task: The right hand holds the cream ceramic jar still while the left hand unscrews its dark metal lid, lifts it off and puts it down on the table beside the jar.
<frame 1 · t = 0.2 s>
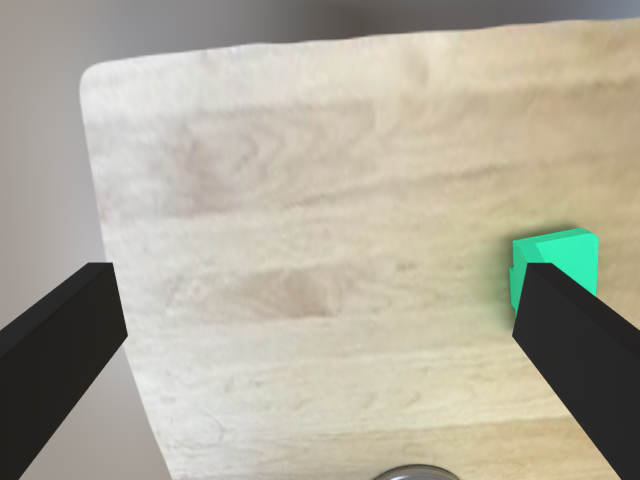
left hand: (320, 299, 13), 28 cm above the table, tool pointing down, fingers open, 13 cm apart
camera mount: (544, 279, 44), on the table
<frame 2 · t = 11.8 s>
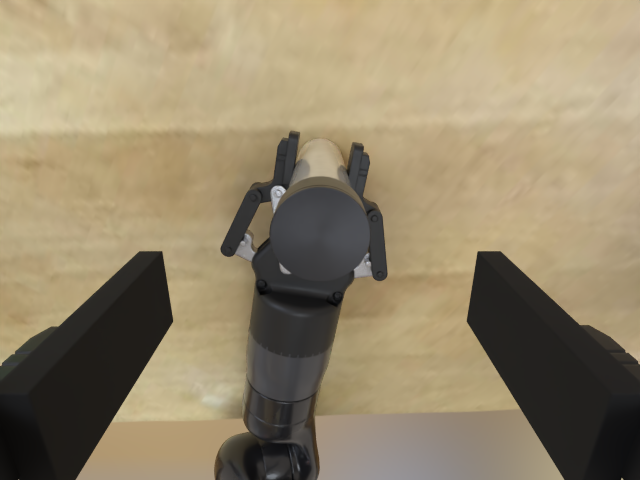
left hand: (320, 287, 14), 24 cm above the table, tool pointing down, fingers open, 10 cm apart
right hand: (326, 139, 29), fingers closed on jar, 4 cm apart
lid: (320, 234, 19), point 19 cm above the table, screwed on, not yet turned
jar: (320, 161, 36), on the table, touching right hand
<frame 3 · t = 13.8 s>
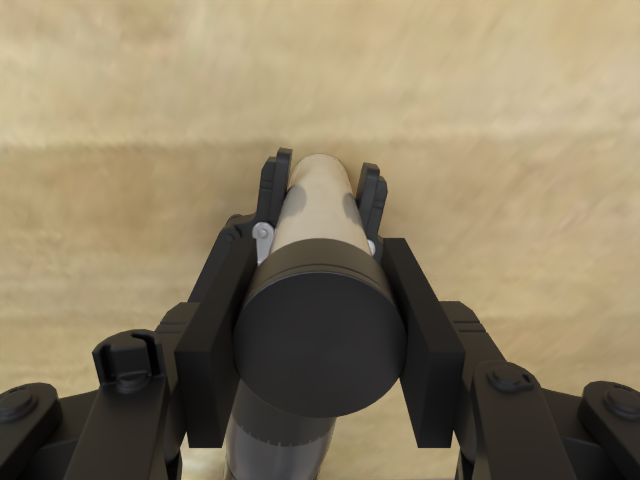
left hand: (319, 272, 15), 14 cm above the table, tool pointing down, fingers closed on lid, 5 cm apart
lid: (319, 342, 11), point 19 cm above the table, screwed on, not yet turned, touching left hand
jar: (319, 182, 28), on the table, touching right hand
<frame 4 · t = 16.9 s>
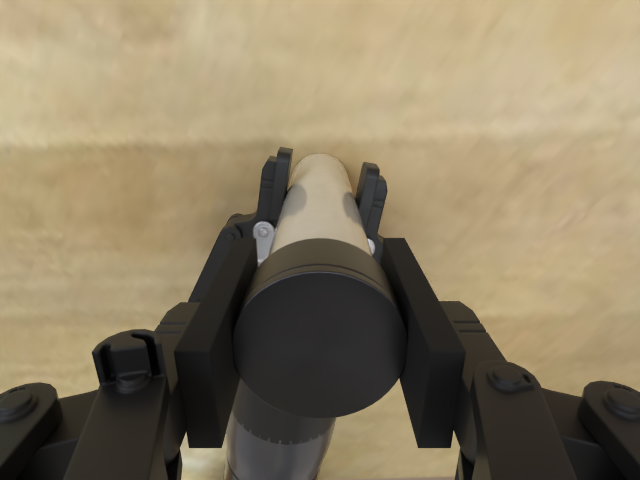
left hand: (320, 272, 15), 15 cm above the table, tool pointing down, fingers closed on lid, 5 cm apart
lid: (320, 343, 11), point 19 cm above the table, turned 95° so far, risen 0.2 cm, still on its thread, touching left hand
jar: (319, 182, 28), on the table, touching right hand
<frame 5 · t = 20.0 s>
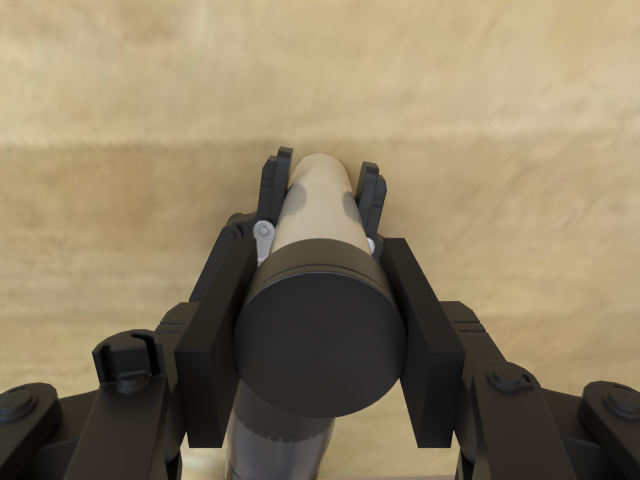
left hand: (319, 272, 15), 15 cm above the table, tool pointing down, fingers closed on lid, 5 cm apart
lid: (319, 343, 11), point 19 cm above the table, turned 191° so far, risen 0.3 cm, still on its thread, touching left hand
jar: (319, 181, 28), on the table, touching right hand
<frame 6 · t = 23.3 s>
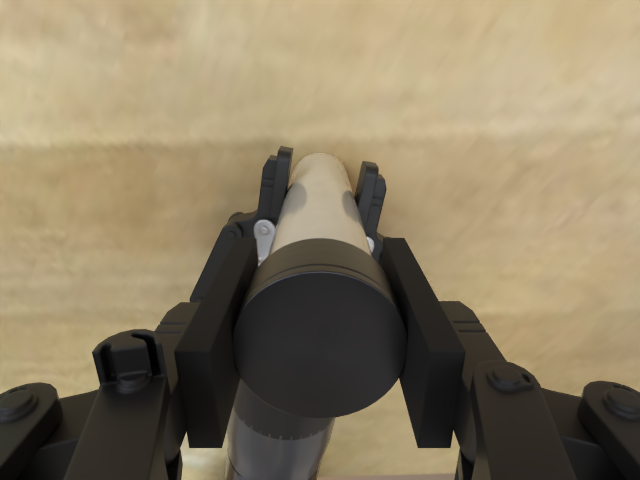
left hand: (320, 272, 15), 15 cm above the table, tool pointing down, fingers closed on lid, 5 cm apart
lid: (319, 343, 11), point 19 cm above the table, turned 286° so far, risen 0.5 cm, still on its thread, touching left hand
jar: (319, 181, 29), on the table, touching right hand
when the left hand's fingers open (0 cm above the table, at t = 29.2 s): lid drops 3 cm, point 2 cm above the table.
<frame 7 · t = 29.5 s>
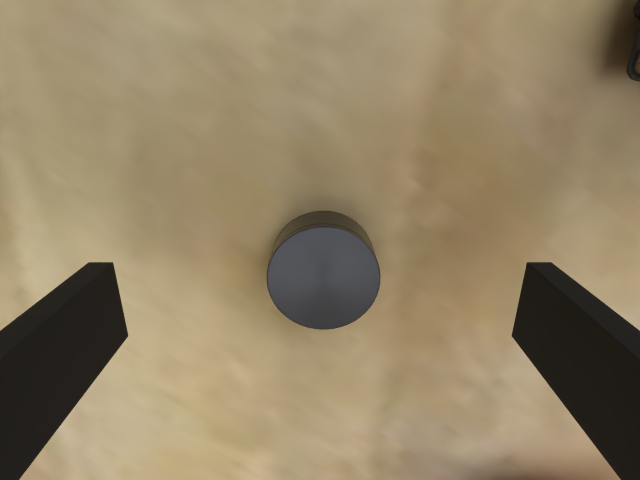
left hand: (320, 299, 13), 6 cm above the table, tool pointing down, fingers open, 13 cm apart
lid: (323, 277, 17), point 2 cm above the table, off its thread
when the right hand's fingers open (6 cm above the table, at t = 29.8 s): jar stays where it is, on the table.
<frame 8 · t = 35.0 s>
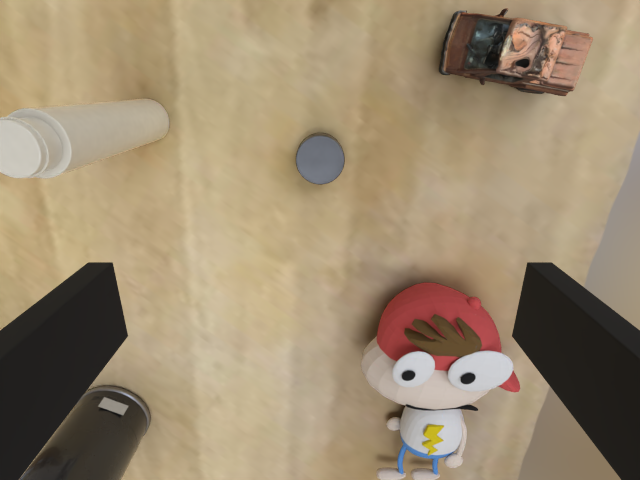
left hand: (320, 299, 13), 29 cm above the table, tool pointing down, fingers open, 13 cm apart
lid: (320, 159, 38), point 2 cm above the table, off its thread
toy car: (500, 56, 37), on the table
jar: (148, 120, 39), on the table
toy: (420, 377, 50), on the table
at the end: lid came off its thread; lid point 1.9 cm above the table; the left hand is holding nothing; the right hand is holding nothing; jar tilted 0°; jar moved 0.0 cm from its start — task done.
